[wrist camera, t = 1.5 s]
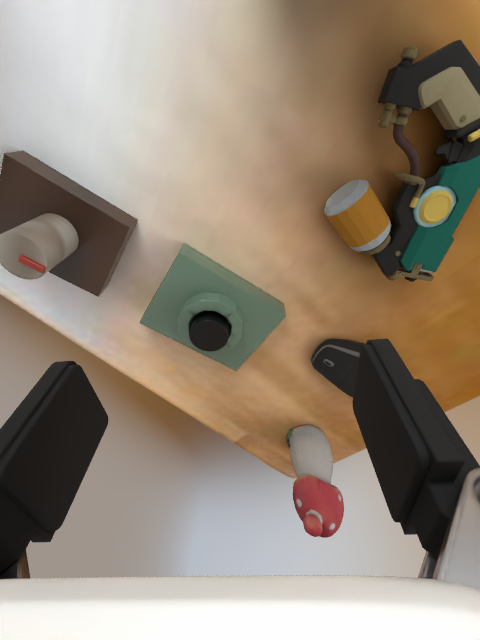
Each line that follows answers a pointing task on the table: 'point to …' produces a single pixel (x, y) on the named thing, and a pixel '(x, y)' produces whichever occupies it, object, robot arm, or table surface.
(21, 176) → the dial panel
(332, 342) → the computer mouse
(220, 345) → the button
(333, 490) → the decorative ornament
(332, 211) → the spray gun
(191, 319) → the green push button panel
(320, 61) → the table surface
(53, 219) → the dial
